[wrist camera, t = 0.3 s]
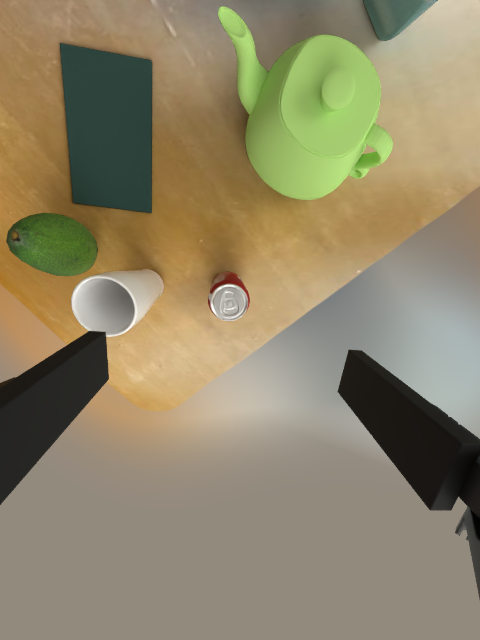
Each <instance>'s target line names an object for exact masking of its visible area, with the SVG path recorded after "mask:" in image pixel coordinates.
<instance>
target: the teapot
mask: <svg viewBox="0 0 480 640" xmlns="http://www.w3.org/2000/svg"><path fill="white" fill-rule="evenodd" d="M218 16H219V20H220V22H221V24H222V26H223V28H224V29H225V31H226V32H227V34H228V35H229V37H230V38H231V40H232V42H233V44H234V47H235V49H236V54H237V89H238V94H239V97H240V100H241V102H242V104H243V106H244V108H245V109H246V111H247V112H248V113H249V118H248V122H247V127H246V133H245V144H246V151H247V155H248V157H249V160H250V162H251V164H252V166H253V168H254V169H255V171H256V172H257V173H258V175H259V176H260V177H261V178H262V179H263V180H264V182H265V183H267V184H268V185H269V186H270V187H271V188H273V189H274V190H276V191H277V192H279V193H281V194H283V195H285V196H288V197H291V198H295V199H302V200H313V199H318V198H321V197H323V196H325V195H327V194H329V193H330V192H332V191H333V190H335V189H336V188H337V187H338V186H339V185H340V184H341V183H342V182H343V181H344V179H345V178H346V177H347V176H348V175H350V176H351V177H353V178H357V179H359V178H362V177H364V176H365V175H366V174H367V173H368V171H369V168H372V167H376V166H378V165H380V164H382V163H383V162H384V161H385V160H386V159H387V158H388V156H389V155H390V153H391V150H392V147H393V142H392V138H391V136H390V135H389V133H388V132H387V131H386V130H385V129H383V128H382V127H380V126H378V125H376V124H375V122H376V118H377V115H378V111H379V106H380V99H381V86H380V80H379V77H378V74H377V72H376V69H375V68H374V66H373V64H372V63H371V61H370V60H369V59H368V57H367V56H366V55H365V54H364V53H363V52H362V51H361V50H360V49H359V48H358V47H357V46H355V45H354V44H352V43H351V42H349V41H347V40H345V39H343V38H340V37H337V36H333V35H317V36H312V37H310V38H307V39H305V40H303V41H300V42H298V43H297V44H295V45H294V46H292V47H291V48H289V49H288V50H286V51H285V52H284V53H283V54H282V55H281V56H280V57H279V58H278V59H277V61H276V62H275V64H274V65H273V66H272V68H271V69H270V71H269V72H268V71H267V70H266V69H265V68H264V67H263V66H262V65H261V64H260V62H259V61H258V59H257V57H256V53H255V44H254V40H253V37H252V35H251V33H250V31H249V29H248V27H247V25H246V24H245V22H244V21H243V20H242V18H241V17H240V16H239V15H238V14H237V13H235V12H234V11H233V10H231V9H229V8H227V7H220V9H219V10H218ZM366 145H369V146H370V147H372V148H373V149H374V150H375V151H376V152H372V153H367V154H363V155H362V153H363V151H364V149H365V147H366Z"/></svg>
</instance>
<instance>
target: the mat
mask: <svg viewBox="0 0 480 640" xmlns="http://www.w3.org/2000/svg"><path fill="white" fill-rule="evenodd" d="M60 51H61V63H62V75H63V86H64V98H65V110H66V122H67V134H68V146H69V158H70V170H71V182H72V194H73V203H77V204H85V205H93V206H100V207H108V208H116V209H124V210H132V211H139V212H147V213H152V61H151V60H147V59H142V58H137V57H131V56H126V55H121V54H115V53H110V52H105V51H99V50H94V49H89V48H84V47H78V46H73V45H68V44H62V43H60Z"/></svg>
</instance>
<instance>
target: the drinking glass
mask: <svg viewBox="0 0 480 640" xmlns="http://www.w3.org/2000/svg"><path fill="white" fill-rule="evenodd" d="M163 290H164V283H163V280H162V278H161V277H160V276H159V275H158V274H157V273H156V272H155V271H153V270H150V269H140V270H118V271H109V272H104V273H100V274H97V275H93V276H90V277H87V278H85V279H84V280H82V281H81V282H80V283H78V285H77V286H76V287H75V289H74V291H73V293H72V298H71V306H72V310H73V313H74V315H75V317H76V319H77V320H78V321H79V323H80V324H81V325H82V326H83V327H84V328H86V329H87V330H89V331H101V332H106V336H107V337H112V336H118V335H121V334H123V333H125V332H127V331H128V330H129V329H131V328H132V327H133V326H135V325H136V324H137V323H138V322H139V321H140V320H141V319H142V318H143V317H144V316H145V315H146V314H147V312H148V311H149V310H150V308H151V307H152V306H153V304H154V303H155V302H156V300H157V299H159V298H160V296H161V295H162V293H163Z"/></svg>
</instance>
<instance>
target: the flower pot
mask: <svg viewBox="0 0 480 640" xmlns="http://www.w3.org/2000/svg"><path fill="white" fill-rule="evenodd" d="M437 1H438V0H363V2H364V5H365V7H366V9H367V12H368V14H369V17H370V19H371V22H372V24H373V27H374V29H375V32H376V34H377V37H378V39H379V40H381V41H387V40H390V39H392V38H394V37H395V36H397V35H398V34H399V33H401V32H402V31H403V30H404V29H405V28H407V27H408V26H409V25H410V24H411V23H412V22H413V21H415V20H416V19H417V18H418V17H419V16H420V15H421V14H423V13H424V12H425V11H426V10H427V9H428V8H430V7H431V6H432V5H433V4H434V3H435V2H437Z"/></svg>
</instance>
